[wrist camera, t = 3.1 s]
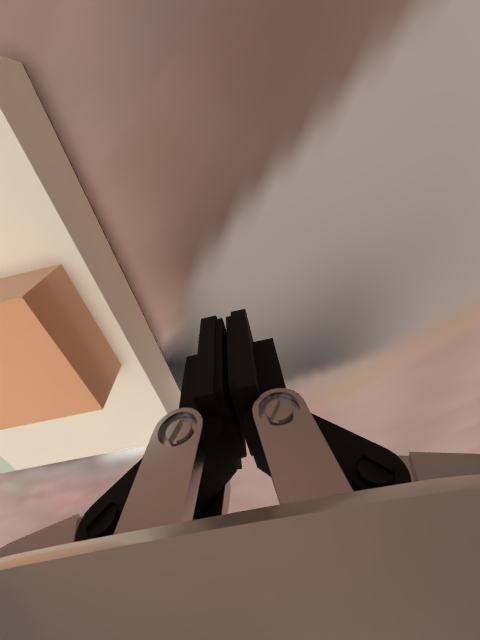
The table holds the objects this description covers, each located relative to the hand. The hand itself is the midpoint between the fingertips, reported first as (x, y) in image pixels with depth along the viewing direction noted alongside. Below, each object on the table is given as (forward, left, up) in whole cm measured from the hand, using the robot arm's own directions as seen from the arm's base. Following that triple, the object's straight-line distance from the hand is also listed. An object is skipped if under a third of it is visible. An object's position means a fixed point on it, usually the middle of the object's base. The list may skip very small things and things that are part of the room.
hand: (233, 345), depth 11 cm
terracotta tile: (+10, -1, -4) cm, 11 cm away
